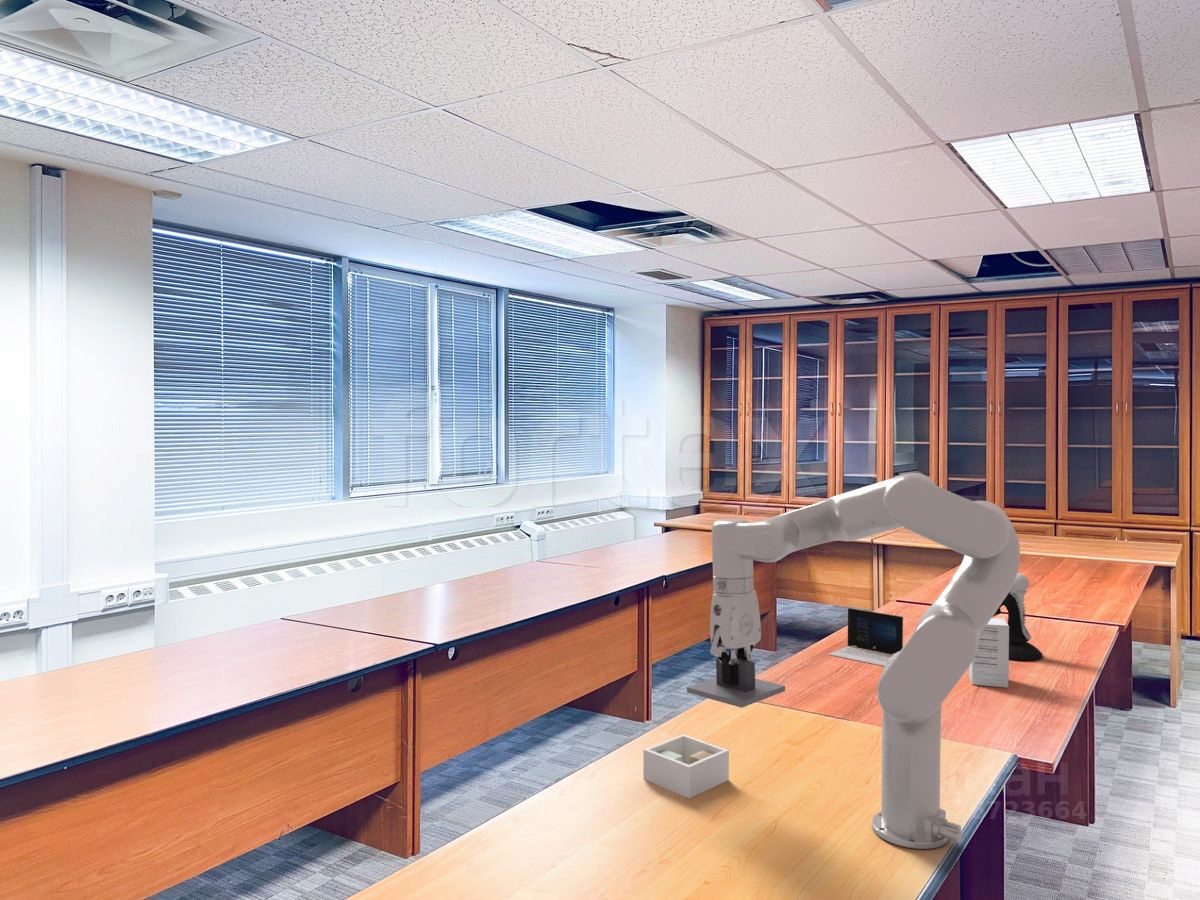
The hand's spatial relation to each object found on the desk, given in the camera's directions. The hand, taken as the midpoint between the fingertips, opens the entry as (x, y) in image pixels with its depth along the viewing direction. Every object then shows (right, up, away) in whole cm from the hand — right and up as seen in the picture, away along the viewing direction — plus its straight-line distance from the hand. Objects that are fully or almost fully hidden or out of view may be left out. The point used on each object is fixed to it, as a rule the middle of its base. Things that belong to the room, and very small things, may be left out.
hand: (735, 681), depth 159 cm
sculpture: (+98, -19, +102) cm, 143 cm away
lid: (0, -2, 0) cm, 2 cm away
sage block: (-12, -21, +10) cm, 26 cm away
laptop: (+55, -20, +97) cm, 114 cm away
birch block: (-5, -21, +9) cm, 24 cm away
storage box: (-8, -22, +10) cm, 26 cm away
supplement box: (+81, -20, +72) cm, 110 cm away
